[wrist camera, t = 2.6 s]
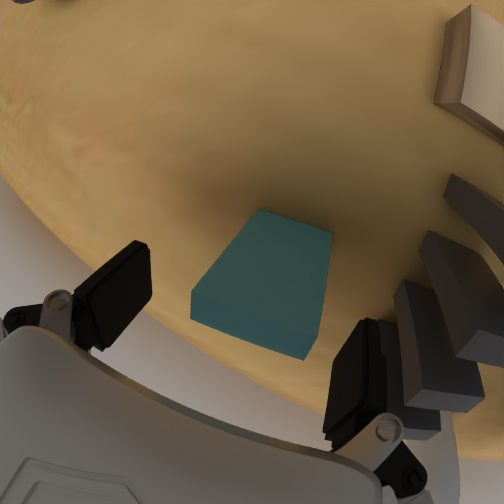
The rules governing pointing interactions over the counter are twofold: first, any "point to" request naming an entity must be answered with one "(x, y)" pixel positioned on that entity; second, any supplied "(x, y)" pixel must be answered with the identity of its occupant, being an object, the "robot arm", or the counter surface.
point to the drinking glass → (440, 462)
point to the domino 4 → (413, 418)
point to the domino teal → (268, 285)
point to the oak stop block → (474, 71)
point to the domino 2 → (467, 299)
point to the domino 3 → (432, 355)
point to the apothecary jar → (22, 1)
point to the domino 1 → (478, 212)
